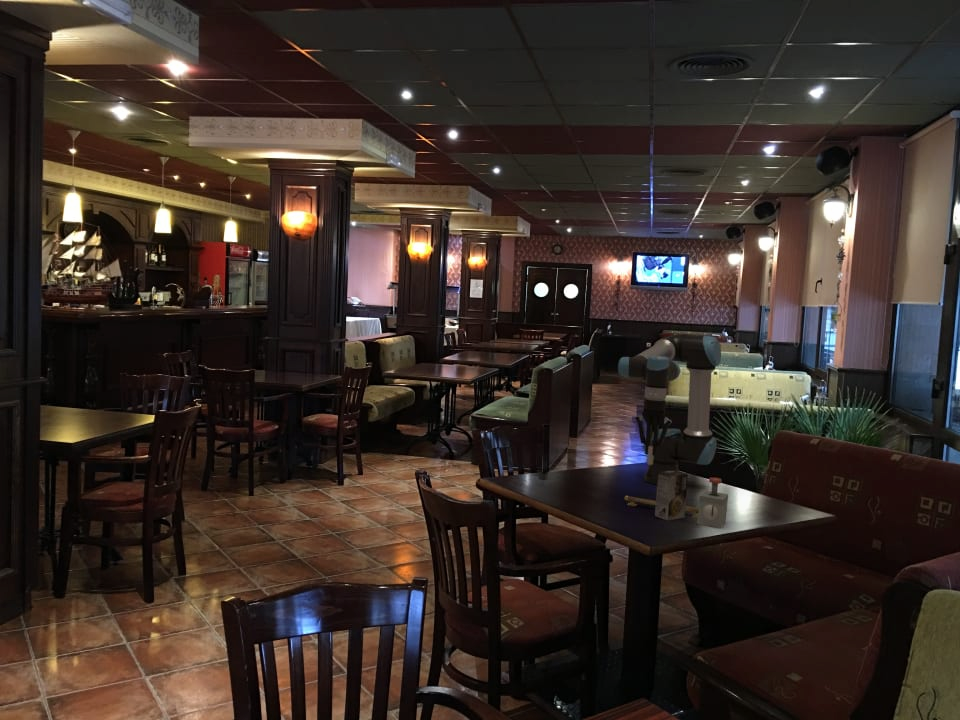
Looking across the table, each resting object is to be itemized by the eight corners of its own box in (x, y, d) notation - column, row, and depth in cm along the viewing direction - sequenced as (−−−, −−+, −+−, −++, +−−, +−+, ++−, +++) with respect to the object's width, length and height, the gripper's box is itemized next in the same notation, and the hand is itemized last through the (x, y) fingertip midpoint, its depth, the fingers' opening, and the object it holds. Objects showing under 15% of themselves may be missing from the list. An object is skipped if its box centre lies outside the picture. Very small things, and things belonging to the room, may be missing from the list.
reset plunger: (709, 491, 267) (710, 476, 266) (721, 493, 265) (722, 478, 265) (707, 493, 263) (708, 478, 263) (719, 495, 261) (720, 480, 261)
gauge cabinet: (702, 517, 271) (705, 490, 270) (725, 521, 268) (728, 494, 267) (696, 524, 262) (699, 496, 261) (720, 528, 258) (723, 500, 257)
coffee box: (671, 513, 274) (675, 469, 273) (685, 518, 269) (689, 473, 268) (653, 516, 269) (657, 471, 268) (667, 520, 264) (671, 475, 263)
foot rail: (623, 504, 283) (623, 495, 283) (624, 502, 286) (625, 494, 285) (705, 518, 270) (705, 509, 270) (706, 517, 272) (707, 508, 272)
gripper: (634, 398, 271) (629, 462, 273) (671, 402, 265) (665, 468, 267) (640, 396, 278) (635, 459, 279) (675, 400, 272) (670, 464, 274)
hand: (650, 463), depth 273 cm, fingers closed
